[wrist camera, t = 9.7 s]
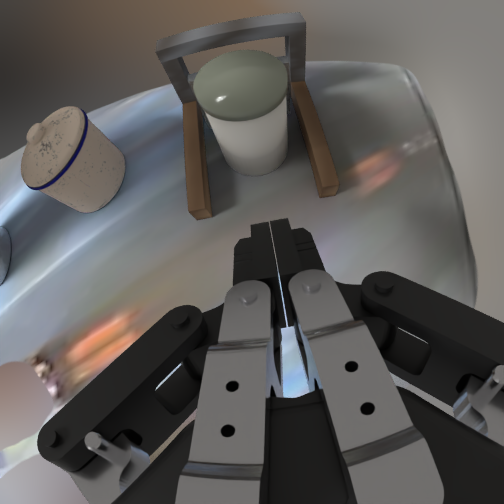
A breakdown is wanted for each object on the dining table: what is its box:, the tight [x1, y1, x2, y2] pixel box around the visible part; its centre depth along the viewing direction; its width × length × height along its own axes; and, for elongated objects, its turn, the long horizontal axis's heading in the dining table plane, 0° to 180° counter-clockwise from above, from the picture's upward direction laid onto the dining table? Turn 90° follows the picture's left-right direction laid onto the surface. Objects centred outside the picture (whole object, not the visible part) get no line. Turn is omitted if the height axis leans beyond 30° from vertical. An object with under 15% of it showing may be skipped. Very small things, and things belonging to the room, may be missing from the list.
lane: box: [156, 12, 340, 220], centre depth 22 cm, size 13×14×10 cm
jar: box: [193, 50, 288, 176], centre depth 22 cm, size 7×7×10 cm
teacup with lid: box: [21, 106, 125, 213], centre depth 24 cm, size 12×9×12 cm
